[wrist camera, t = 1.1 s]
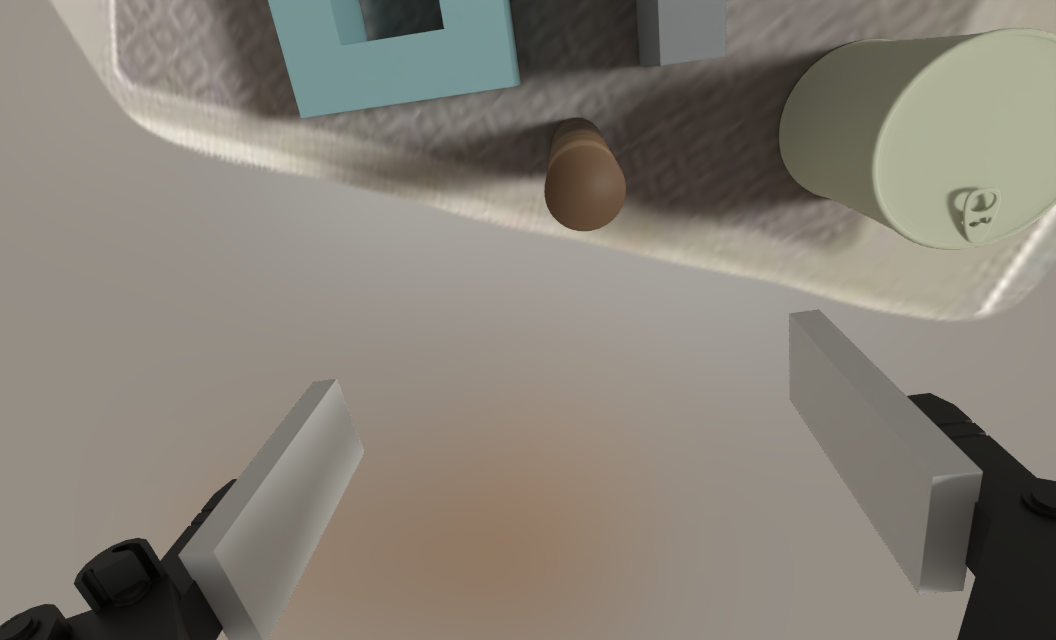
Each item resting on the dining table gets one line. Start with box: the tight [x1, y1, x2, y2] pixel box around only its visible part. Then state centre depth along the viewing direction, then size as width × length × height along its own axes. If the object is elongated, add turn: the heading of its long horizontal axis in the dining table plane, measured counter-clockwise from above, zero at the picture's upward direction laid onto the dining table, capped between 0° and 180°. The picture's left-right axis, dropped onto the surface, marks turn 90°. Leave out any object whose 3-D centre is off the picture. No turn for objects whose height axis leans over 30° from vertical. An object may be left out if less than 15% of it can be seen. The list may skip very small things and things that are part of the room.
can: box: [779, 28, 1056, 250], centre depth 29 cm, size 9×9×12 cm
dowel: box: [544, 118, 626, 231], centre depth 29 cm, size 3×3×15 cm
